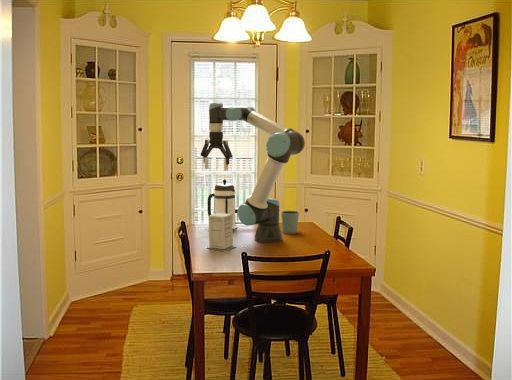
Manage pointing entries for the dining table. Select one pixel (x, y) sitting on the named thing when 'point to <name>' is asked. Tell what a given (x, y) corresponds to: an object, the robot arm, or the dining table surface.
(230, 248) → the trivet
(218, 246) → the supplement box
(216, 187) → the coffee press
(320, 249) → the dining table surface
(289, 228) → the drinking glass
